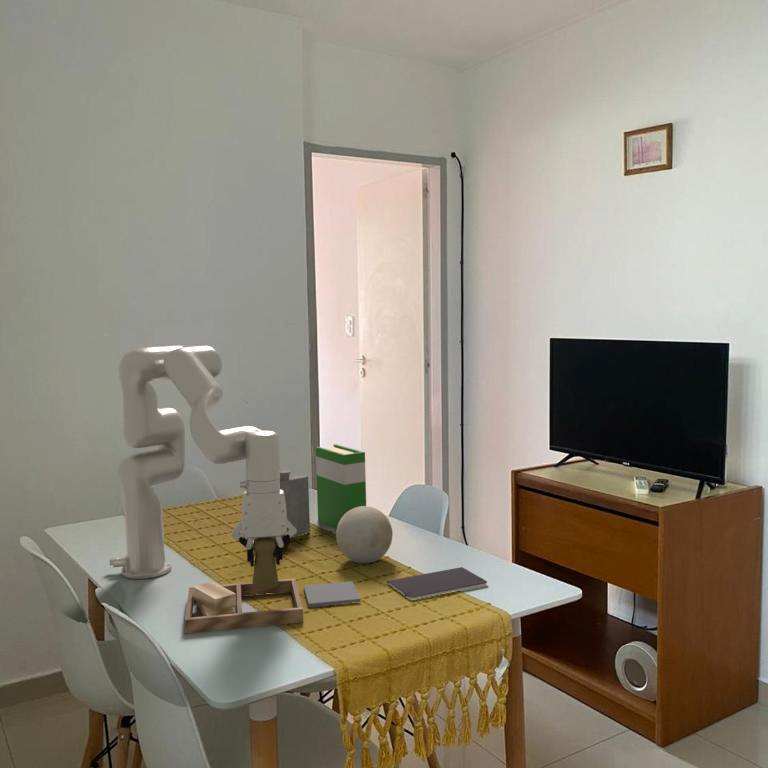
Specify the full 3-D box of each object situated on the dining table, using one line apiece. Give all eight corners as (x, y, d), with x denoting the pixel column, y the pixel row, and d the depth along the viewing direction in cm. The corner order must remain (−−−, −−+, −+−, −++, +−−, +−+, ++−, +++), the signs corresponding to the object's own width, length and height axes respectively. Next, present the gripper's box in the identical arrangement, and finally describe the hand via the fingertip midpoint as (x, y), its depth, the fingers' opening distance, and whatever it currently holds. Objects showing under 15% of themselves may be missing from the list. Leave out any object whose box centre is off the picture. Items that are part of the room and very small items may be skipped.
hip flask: (307, 530, 247) (305, 466, 245) (313, 534, 243) (310, 468, 241) (258, 539, 239) (255, 473, 237) (263, 543, 235) (260, 475, 233)
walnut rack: (185, 633, 172) (184, 619, 171) (189, 599, 191) (189, 587, 191) (303, 622, 176) (302, 608, 176) (295, 590, 196) (295, 578, 196)
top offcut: (216, 612, 177) (215, 599, 176) (193, 599, 185) (192, 586, 185) (236, 606, 180) (235, 593, 180) (212, 593, 188) (212, 581, 188)
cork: (253, 590, 181) (252, 542, 180) (250, 580, 187) (249, 534, 186) (280, 587, 183) (279, 540, 181) (276, 578, 188) (275, 532, 187)
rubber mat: (308, 607, 185) (308, 603, 185) (303, 589, 196) (303, 585, 196) (360, 602, 187) (360, 598, 187) (352, 585, 199) (352, 581, 198)
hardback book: (318, 521, 258) (315, 446, 255) (338, 517, 262) (336, 444, 259) (345, 533, 243) (343, 455, 240) (366, 529, 247) (364, 452, 244)
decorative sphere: (328, 558, 220) (326, 504, 218) (377, 550, 226) (376, 497, 225) (351, 574, 206) (349, 517, 205) (403, 565, 213) (401, 509, 212)
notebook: (462, 572, 208) (387, 586, 199) (462, 566, 207) (386, 580, 199) (488, 588, 196) (410, 603, 187) (488, 581, 196) (410, 597, 187)
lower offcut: (207, 629, 175) (207, 615, 175) (197, 607, 188) (197, 594, 188) (235, 624, 177) (234, 611, 177) (223, 603, 190) (223, 590, 190)
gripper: (224, 491, 177) (226, 572, 179) (302, 487, 180) (304, 566, 182) (224, 483, 184) (226, 561, 186) (299, 480, 187) (301, 556, 189)
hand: (265, 563), depth 184 cm, fingers closed on cork, 5 cm apart
